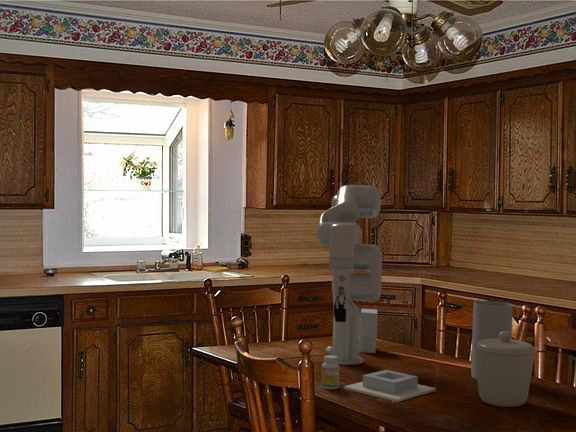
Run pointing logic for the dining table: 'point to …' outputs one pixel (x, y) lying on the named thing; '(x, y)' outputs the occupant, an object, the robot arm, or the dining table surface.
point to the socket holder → (390, 386)
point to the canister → (504, 370)
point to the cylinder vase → (489, 323)
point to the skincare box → (368, 331)
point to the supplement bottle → (330, 373)
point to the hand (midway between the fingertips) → (339, 319)
